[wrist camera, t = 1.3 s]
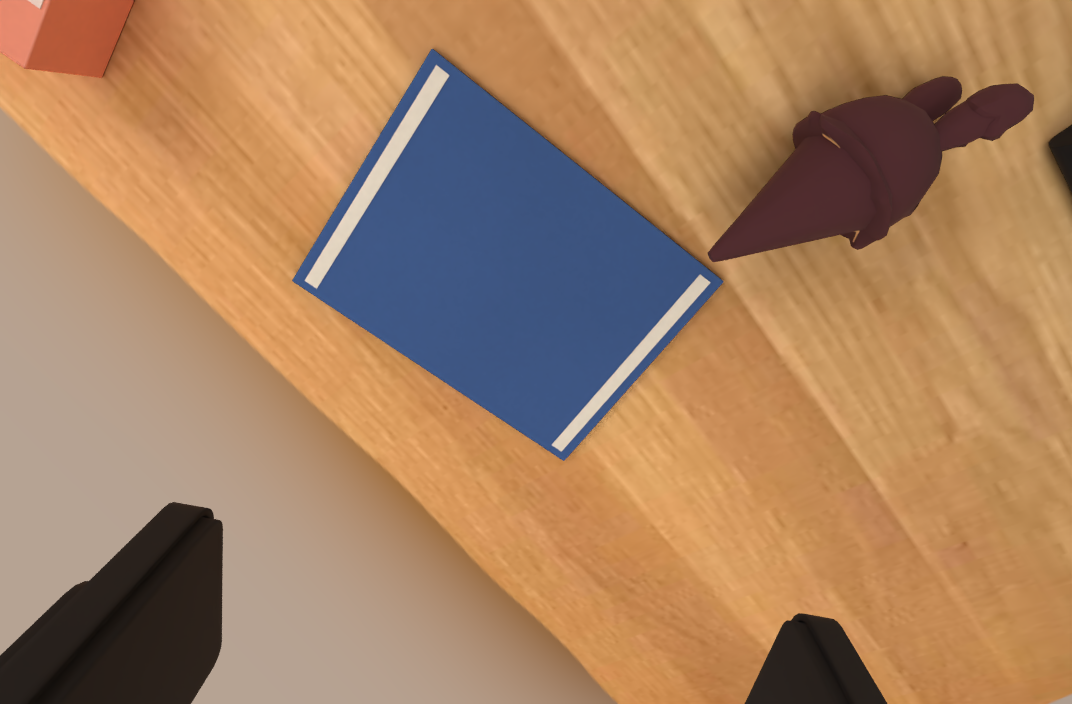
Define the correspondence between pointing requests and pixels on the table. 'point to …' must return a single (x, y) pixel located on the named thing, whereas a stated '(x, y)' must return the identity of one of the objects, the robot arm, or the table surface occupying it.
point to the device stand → (1063, 153)
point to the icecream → (867, 165)
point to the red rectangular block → (62, 33)
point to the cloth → (501, 263)
